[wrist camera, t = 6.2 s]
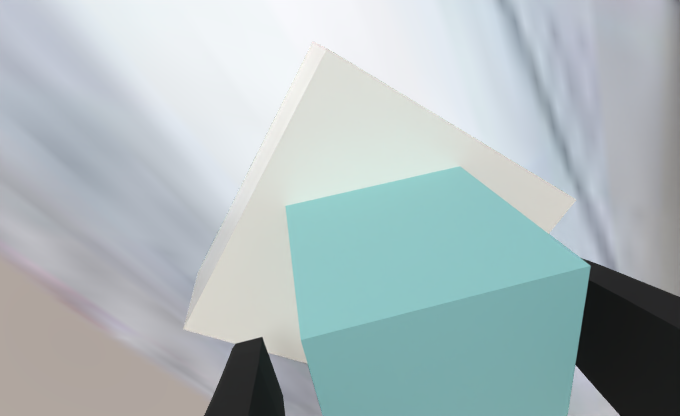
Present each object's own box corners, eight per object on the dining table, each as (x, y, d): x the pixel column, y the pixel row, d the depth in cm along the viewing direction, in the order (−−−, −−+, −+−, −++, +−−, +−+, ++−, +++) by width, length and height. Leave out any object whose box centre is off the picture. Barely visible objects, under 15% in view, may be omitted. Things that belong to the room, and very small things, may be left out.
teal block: (459, 166, 11) (590, 266, 7) (463, 302, 13) (562, 443, 9) (285, 206, 11) (300, 339, 6) (320, 339, 13) (348, 506, 9)
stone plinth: (520, 167, 15) (576, 199, 12) (394, 337, 18) (418, 394, 15) (312, 40, 12) (326, 48, 9) (198, 272, 15) (183, 329, 12)
